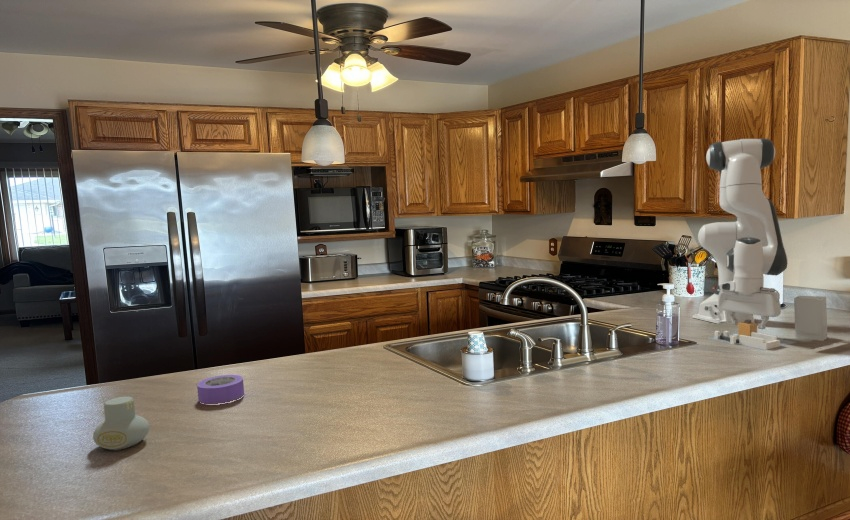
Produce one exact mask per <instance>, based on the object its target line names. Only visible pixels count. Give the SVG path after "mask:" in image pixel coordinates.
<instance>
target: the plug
mask: <svg viewBox="0 0 850 520" xmlns="http://www.w3.org/2000/svg"><path fill="white" fill-rule="evenodd" d="M738 323H739V322H738ZM737 332H738V335H745V336H750V337H751V332H755V333H758V323H757V322H754V323H753V322H751V320H745V322H740V323H739V324H738V330H737Z"/></svg>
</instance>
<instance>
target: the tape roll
mask: <svg viewBox="0 0 850 520" xmlns="http://www.w3.org/2000/svg"><path fill="white" fill-rule="evenodd" d="M196 388H197V398H198V403H199V402H201V403H204V404H218V403H225V402H230V401H233V400H237V399H239V398H241V397H242V396H243V395H244V396H245V388H244V378H243V376H242V375H239V374H221V375H217V376H211V377H207V378H205V379H202V380H200V381H199V382H198V383H197V384H196Z"/></svg>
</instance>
